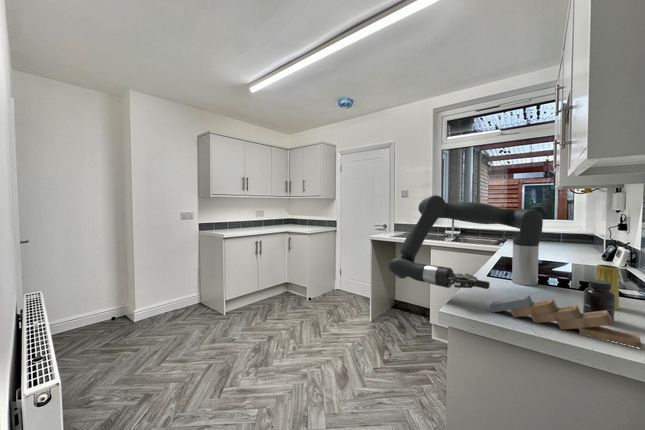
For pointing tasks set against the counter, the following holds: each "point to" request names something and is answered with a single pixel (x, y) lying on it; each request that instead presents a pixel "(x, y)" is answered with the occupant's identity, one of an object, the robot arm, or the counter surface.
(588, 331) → the domino
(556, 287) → the counter surface
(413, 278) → the robot arm
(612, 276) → the vase
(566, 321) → the domino
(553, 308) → the domino
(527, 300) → the domino
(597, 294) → the supplement bottle
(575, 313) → the domino
